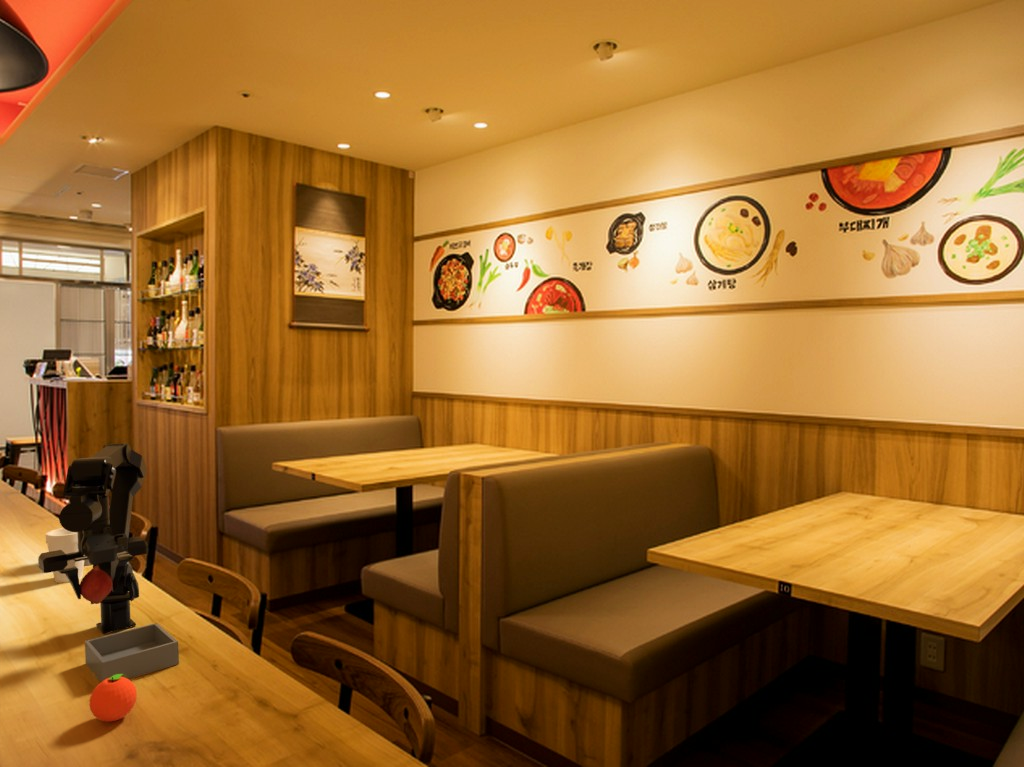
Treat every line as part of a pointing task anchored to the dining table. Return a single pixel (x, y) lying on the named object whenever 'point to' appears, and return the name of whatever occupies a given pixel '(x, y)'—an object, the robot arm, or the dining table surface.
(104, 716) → the clementine
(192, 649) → the dining table surface
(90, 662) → the bin
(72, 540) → the foam cup
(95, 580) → the onion
